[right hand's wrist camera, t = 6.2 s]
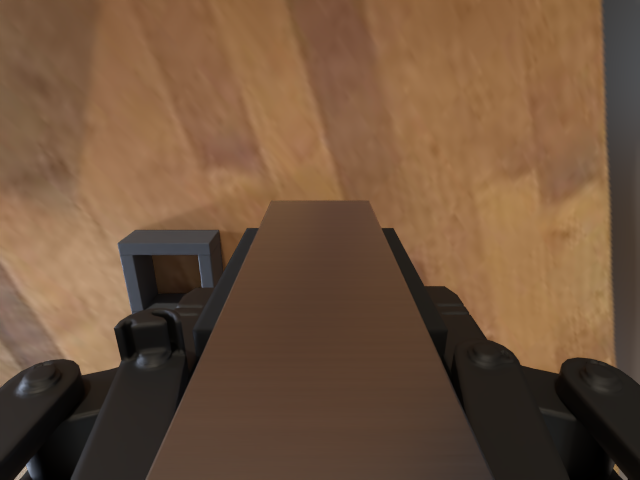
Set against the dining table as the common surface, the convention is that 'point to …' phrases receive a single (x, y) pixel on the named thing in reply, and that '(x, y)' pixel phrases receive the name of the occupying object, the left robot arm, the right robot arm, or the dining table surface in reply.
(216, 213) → the dining table surface
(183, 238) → the peg board
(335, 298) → the peg
